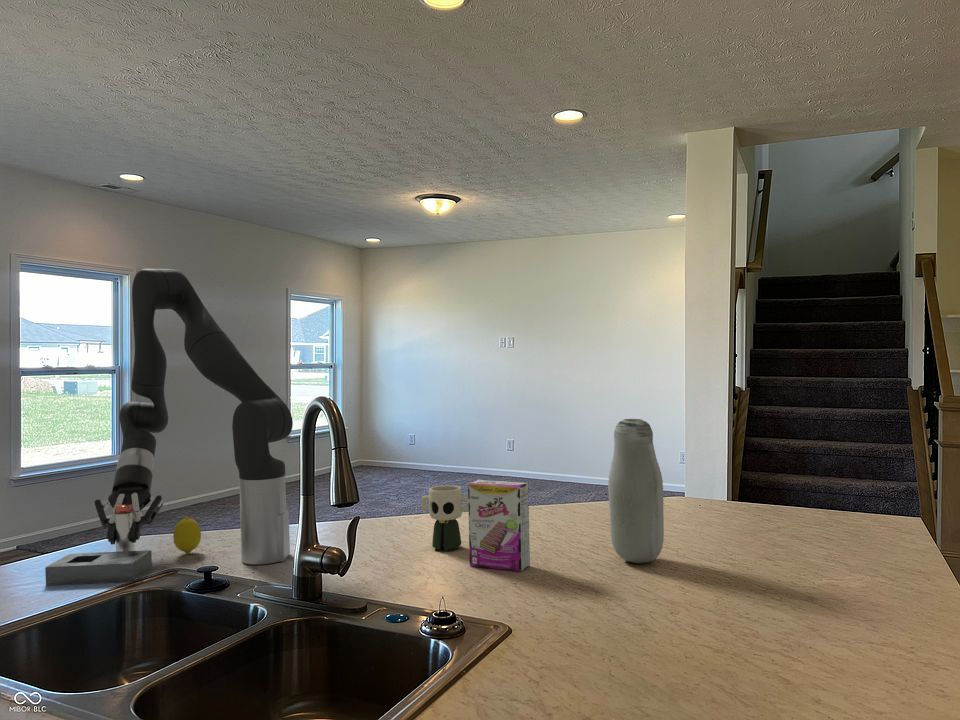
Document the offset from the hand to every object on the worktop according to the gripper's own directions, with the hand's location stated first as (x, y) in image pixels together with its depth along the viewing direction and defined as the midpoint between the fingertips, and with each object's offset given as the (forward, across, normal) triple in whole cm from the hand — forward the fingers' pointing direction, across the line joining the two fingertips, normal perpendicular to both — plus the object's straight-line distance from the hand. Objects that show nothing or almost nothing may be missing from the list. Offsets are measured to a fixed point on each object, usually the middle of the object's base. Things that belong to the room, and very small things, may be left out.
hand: (122, 541), depth 148 cm
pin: (+2, 0, +5) cm, 5 cm away
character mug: (+11, +66, -3) cm, 67 cm away
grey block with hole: (+8, -3, -1) cm, 9 cm away
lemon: (0, +12, +7) cm, 14 cm away
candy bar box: (+22, +73, -15) cm, 78 cm away
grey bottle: (+26, +100, -19) cm, 105 cm away
